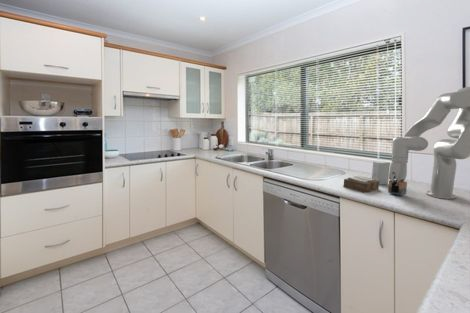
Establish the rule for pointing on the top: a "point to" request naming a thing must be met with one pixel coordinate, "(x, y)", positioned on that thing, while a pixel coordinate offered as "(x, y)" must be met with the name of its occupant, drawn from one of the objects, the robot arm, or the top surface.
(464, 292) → the top surface
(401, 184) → the block
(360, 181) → the walnut stand
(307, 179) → the top surface
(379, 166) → the skincare box
